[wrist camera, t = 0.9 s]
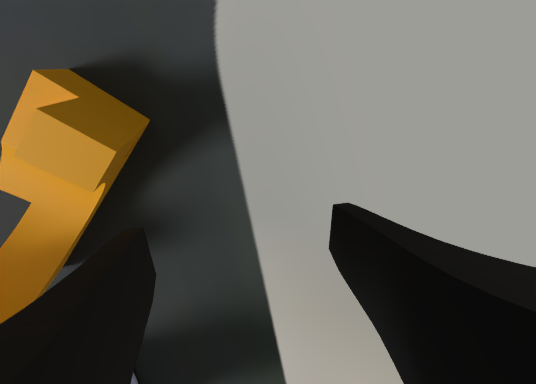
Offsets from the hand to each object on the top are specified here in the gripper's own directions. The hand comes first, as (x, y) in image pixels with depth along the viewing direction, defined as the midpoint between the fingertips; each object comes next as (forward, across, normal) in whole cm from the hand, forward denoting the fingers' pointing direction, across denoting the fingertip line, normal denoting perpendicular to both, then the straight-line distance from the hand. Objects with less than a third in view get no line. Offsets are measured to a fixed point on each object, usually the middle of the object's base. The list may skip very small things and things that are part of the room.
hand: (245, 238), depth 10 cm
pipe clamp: (+9, +10, 0) cm, 13 cm away
